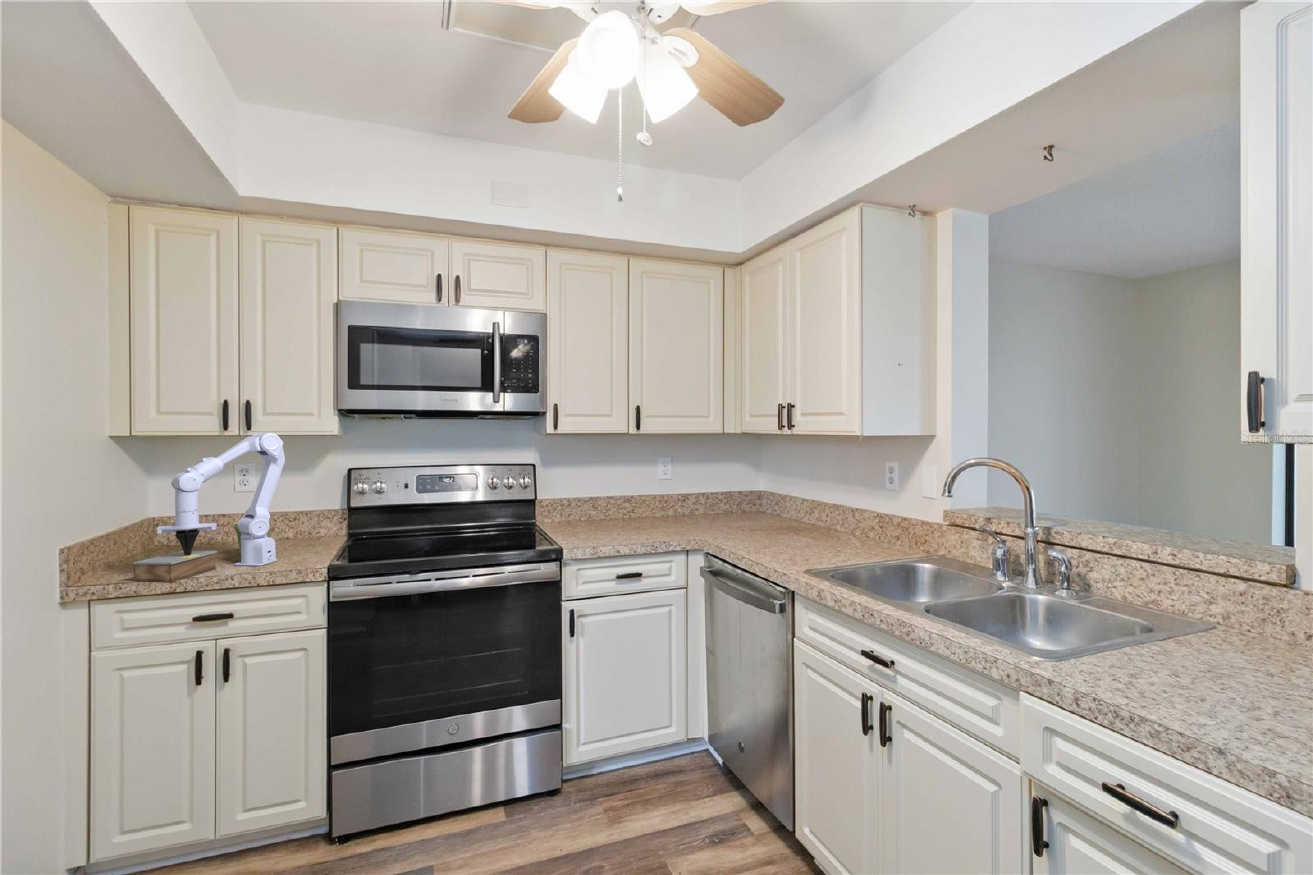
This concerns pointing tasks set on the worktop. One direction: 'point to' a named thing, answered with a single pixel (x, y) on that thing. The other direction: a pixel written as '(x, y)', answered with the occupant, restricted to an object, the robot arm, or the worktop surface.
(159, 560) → the lid
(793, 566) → the worktop surface
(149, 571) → the box base
